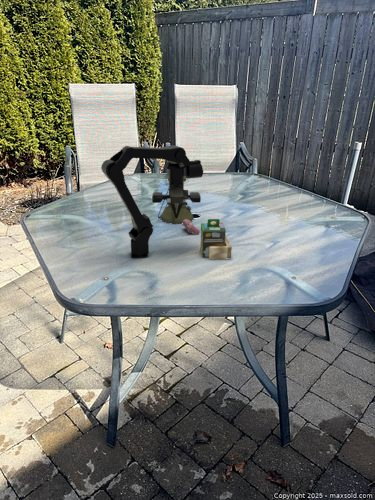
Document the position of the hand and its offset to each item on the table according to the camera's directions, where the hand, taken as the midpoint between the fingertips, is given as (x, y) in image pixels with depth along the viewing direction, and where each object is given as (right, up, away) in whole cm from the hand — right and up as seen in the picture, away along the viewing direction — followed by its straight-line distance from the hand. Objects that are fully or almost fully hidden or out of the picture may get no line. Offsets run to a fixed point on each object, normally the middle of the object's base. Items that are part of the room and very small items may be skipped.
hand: (176, 218), depth 152 cm
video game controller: (+6, -4, +24) cm, 25 cm away
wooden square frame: (+16, -14, +2) cm, 21 cm away
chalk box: (+14, -14, +1) cm, 20 cm away
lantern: (-1, +3, +41) cm, 41 cm away
